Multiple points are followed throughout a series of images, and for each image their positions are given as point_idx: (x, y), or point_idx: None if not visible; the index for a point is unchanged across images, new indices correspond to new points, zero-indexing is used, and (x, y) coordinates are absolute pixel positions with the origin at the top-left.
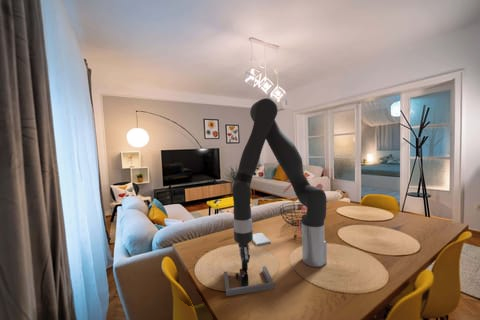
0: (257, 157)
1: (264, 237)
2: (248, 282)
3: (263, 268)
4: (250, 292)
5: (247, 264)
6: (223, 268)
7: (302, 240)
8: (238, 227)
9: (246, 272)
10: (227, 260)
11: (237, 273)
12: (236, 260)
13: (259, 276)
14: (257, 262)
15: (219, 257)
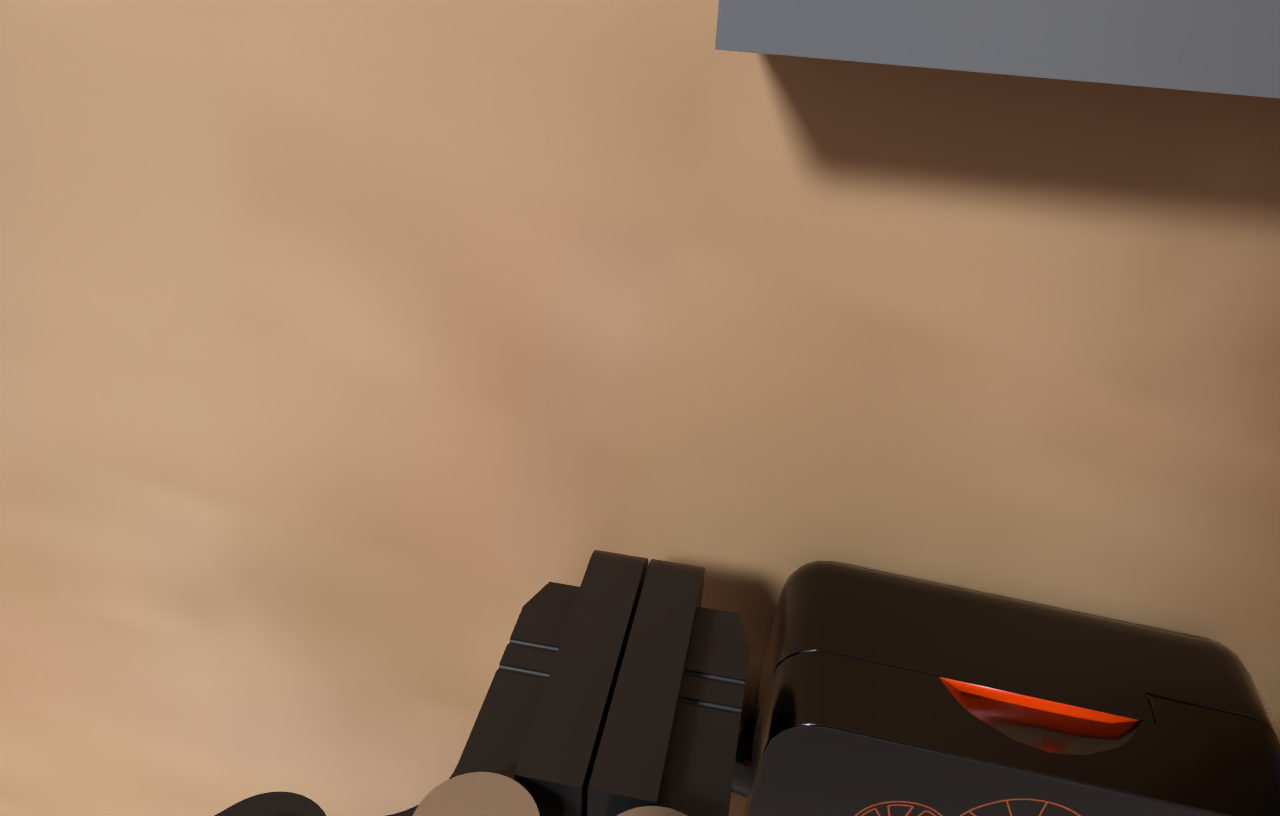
0: None
1: None
2: (1232, 686)
3: (858, 49)
4: None
5: (672, 707)
6: (385, 807)
7: None
8: None
9: (1016, 788)
10: (101, 682)
11: (748, 780)
12: (89, 534)
13: (971, 220)
14: (168, 7)
15: (5, 761)
